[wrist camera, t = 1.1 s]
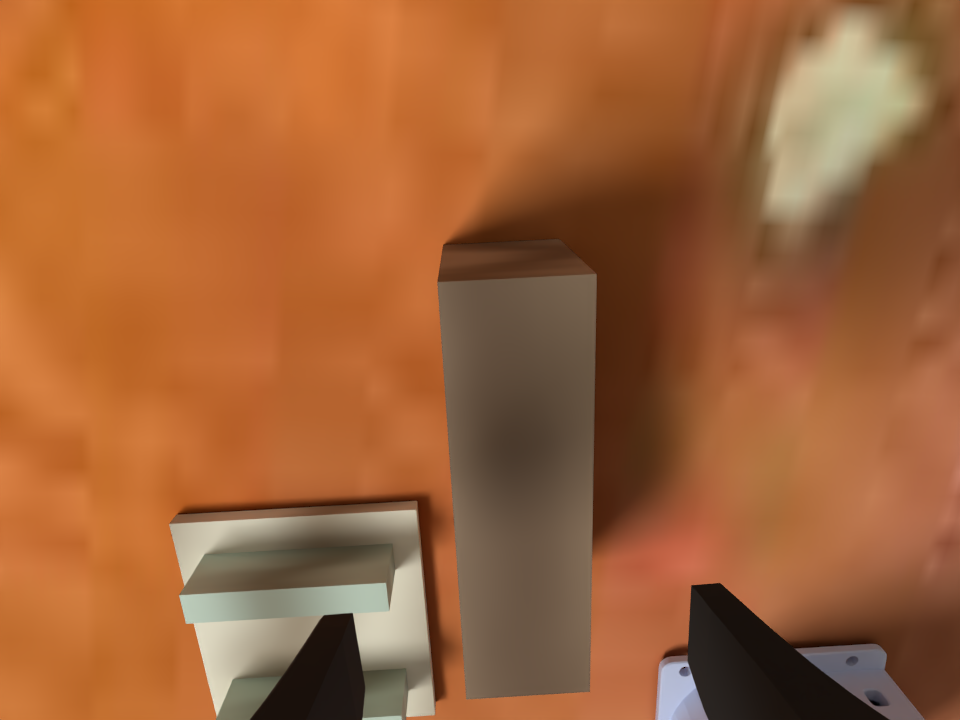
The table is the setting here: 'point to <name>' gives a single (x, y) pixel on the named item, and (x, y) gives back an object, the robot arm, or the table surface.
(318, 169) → the table surface
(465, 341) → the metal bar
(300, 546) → the rail stand
